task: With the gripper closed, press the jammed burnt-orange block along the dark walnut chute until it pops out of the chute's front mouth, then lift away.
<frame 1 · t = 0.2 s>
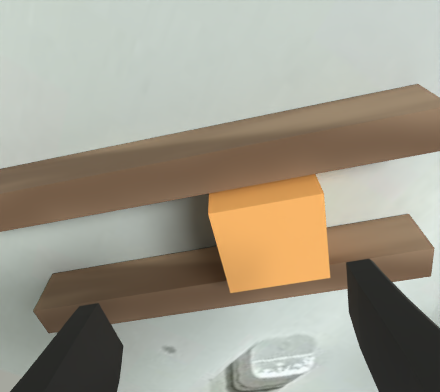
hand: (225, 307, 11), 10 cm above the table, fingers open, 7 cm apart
jammed block: (268, 222, 19), point 2 cm above the table, slide at 0.0 cm
walnut chute: (194, 211, 21), on the table
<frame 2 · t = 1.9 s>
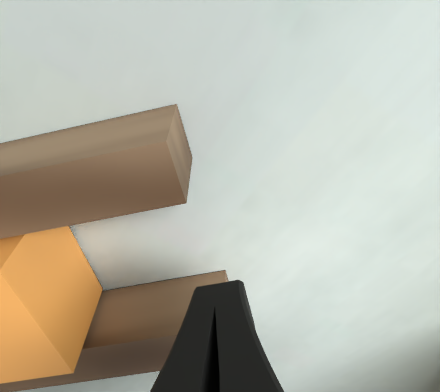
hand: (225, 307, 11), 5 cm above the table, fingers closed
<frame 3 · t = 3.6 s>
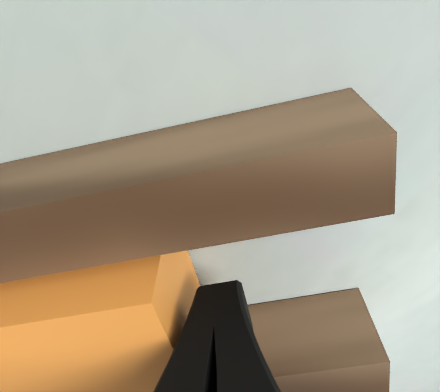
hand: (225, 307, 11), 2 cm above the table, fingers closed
jammed block: (108, 320, 11), point 2 cm above the table, slide at 0.1 cm, touching gripper
walnut chute: (23, 287, 14), on the table
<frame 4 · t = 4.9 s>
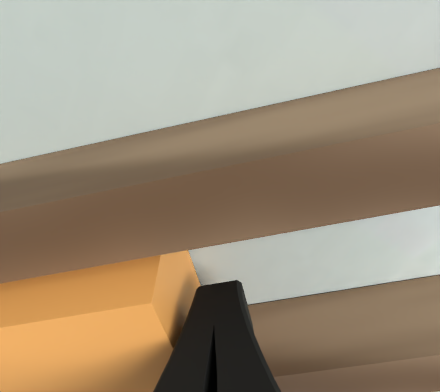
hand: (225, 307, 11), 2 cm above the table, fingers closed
jammed block: (109, 320, 11), point 2 cm above the table, slide at 3.0 cm, touching gripper
walnut chute: (99, 274, 13), on the table
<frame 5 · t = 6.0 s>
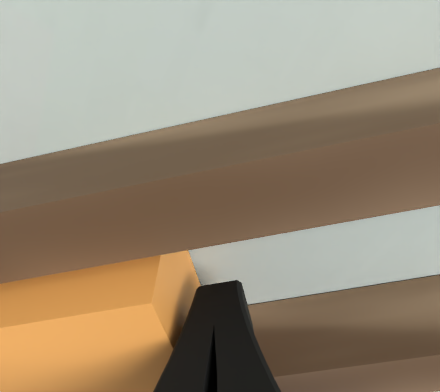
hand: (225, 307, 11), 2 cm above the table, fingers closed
jammed block: (109, 320, 11), point 2 cm above the table, slide at 9.2 cm, touching gripper
walnut chute: (269, 244, 13), on the table
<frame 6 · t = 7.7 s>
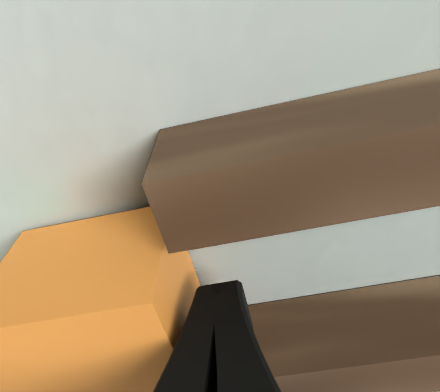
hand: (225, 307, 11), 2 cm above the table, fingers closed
jammed block: (109, 320, 12), point 2 cm above the table, slide at 16.8 cm, touching gripper
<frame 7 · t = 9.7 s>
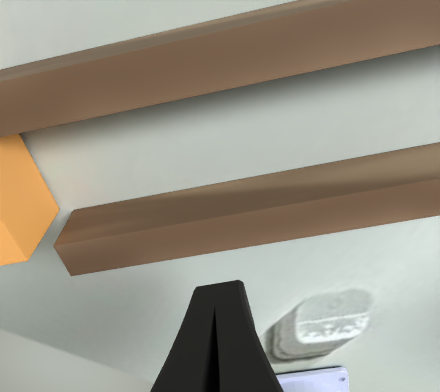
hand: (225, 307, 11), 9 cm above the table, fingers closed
walnut chute: (247, 125, 18), on the table
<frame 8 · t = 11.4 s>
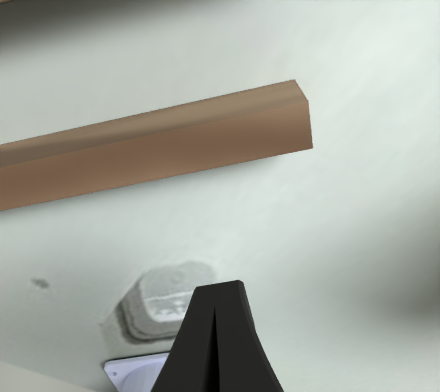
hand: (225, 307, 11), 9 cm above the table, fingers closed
walnut chute: (16, 77, 17), on the table
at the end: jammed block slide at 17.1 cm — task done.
